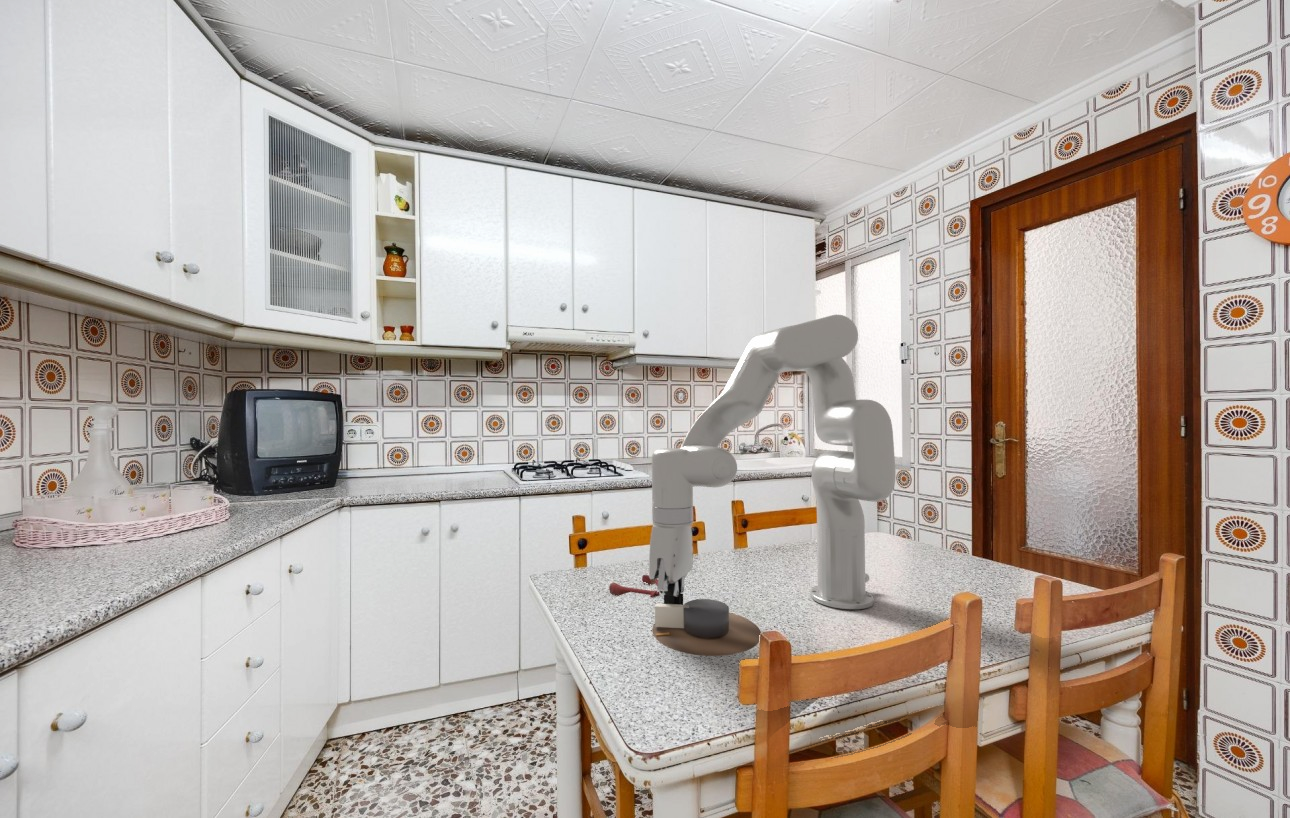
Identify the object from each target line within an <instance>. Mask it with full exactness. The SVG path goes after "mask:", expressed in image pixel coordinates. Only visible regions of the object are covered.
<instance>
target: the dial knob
mask: <svg viewBox="0 0 1290 818" xmlns="http://www.w3.org/2000/svg"><path fill="white" fill-rule="evenodd" d="M729 613H730V607H729V605H728V604H726V603H725V602H722V601H720V600H717V599H709V598H699V599H693V600H689V601H687V602H685V603H683V605H678V604H664V603H655V605H654V624H655V627H668V628H684V630H685V631H686V632H687V633H689V634H691V635H694V636H697V637H704V638H713V637H720V636H723V635H725V634H727V633H728V631H729Z"/></svg>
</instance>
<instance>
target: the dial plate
mask: <svg viewBox="0 0 1290 818" xmlns="http://www.w3.org/2000/svg"><path fill="white" fill-rule="evenodd" d="M651 631H652V635H653V637H654V638H655V639H656V640H657V641H658V642H659V643H660V644H662V645H663V646H664V647H667V648H670V649H672V650H674V651H677V652H681V653H683V654H689V655H694V656H703V657H704V656H705V657H716V656H717V657H720V656H721V657H722V656H729V655H736V654H739V653H742V652H743V653H744V652H746V651H748V650H751V649H752V648H754V647H756V646H757V644H759V643H760V641H759V635H760V633H761V634H762V631H761V629H760V628H759V626H757V624H755V623H754V622H753V621H751V620H750V619H749V618H746V617H744V616H741V615H739V614H735V613H732V612H729V631H728V633H727V634H725V635H723V636H720V637H713V638H704V637H697V636H694V635H691V634H689V633H687V632H686V631H685V630H684V628H668V627H655V623H653V626H652V629H651Z"/></svg>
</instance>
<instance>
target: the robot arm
mask: <svg viewBox="0 0 1290 818" xmlns="http://www.w3.org/2000/svg"><path fill="white" fill-rule="evenodd" d="M858 340H859V332H858V328H857V326H856V324H855V322H854V321H853V320H852V319H851V318H849V317H848V316H846V315H843V314H832V315H828V316H825V317H819V318H817V319H814V320H808V321H805V322H801V323H797V324H793V325H789V326H784V327H779V328H776V329H772V330H769V331H765V332H762V333H759V334H757V335H755V336H754V337H752V338H751V340H750V341H749V342H748V343H747V346H745V349H744V351H743V353H742V355H741V356H740V358H739V360H738V362H737V364H736V366H735V368H734V369H733V371H732V373H731V375H730V377H729V379H728V380H727V382H726V384H725V386H724V388H723V390H722V391H721V393H720V394H719V395H718V396H717V398H715V399H714V400H713V401H712V402H711V403H710V405H708V407H707V408H706V409H705V410H704V411H703V412H702V413H701V414H700V415H699V416H698V418H697V419H696V420H695V421H694V422H693V425H692V426H691V427H690V429H689V430H688V432H687V434H686V436H685V438H684V439H683V441H682V443H681V445H680V446H679V447H678V448H675V447H672V448H671V447H667V448H659V449H656V450H655V451H653V453H652V455H651V484H652V485H651V496H652V502H651V507H652V511H651V515H652V516H651V517H652V518H651V519H652V521H651V522H652V528H651V533H650V539H649V540H650V541H649V557H648V559H649V560H648V576H649V578H650V580H656V579H658V587H657V588H656V589H657V591H658V592H660V591H663V595H664V599H663V604H678V605H684V591H685V581H686V580H685V579H686V577H687V576H688V574H689V573H690V572H691V571H692V570H693V564H694V545H693V531H692V525H694V500H693V499H694V497H693V496H694V494H693V493H694V492H693V490H694V487H704V488H706V487H707V488H721V487H724V486H727V485H728V484H730V483H732V481H733V480H734V478H735V477H736V476H737V475H736V474H737V471H738V464H737V460H736V459H735V457H734V455H733V454H732V453H731V452H729V451H728V450H727V449H724V448H723V447H720V445H721V443H722V442H723V440H724V439H725V438H726V437H727V436H728V435H729V434H730V433H732V432H733V431H734V430H736V429H737V428H739V427H741V426H743V425H745V424H747V423H748V422H750V421H751V420H753V419H754V418H755V417H757V416H759V415H760V413H761V412H762V410H763V409H764V407H765V405H766V403H767V401H768V399H769V397H770V395H771V393H772V391H773V389H774V387H775V385H776V383H777V381H778V380H779V378H780V376H781V374H782V373H786V372H794V371H799V370H803V371H804V372H805V373H806V375H807V376H808V378H809V380H810V384H811V391H812V399H813V401H812V402H813V415H814V427H815V432H816V435H817V437H818V439H819V440H820V441H821V442H823V443H825V444H828V445H833V446H845V447H852V450H853V451H844V450H831V451H825V452H823V453H821V454H820V455H818V457H816V458H815V460H814V462H813V464H812V466H811V482H812V486H813V491H814V496H815V504H816V506H815V507H816V537H817V538H816V541H817V542H816V544H817V545H816V547H817V549H816V551H817V552H816V555H817V562H816V563H817V585H815V586H813V587H812V588H811V589H810V597H811V599H812V600H813V601H815V602H816V603H818V604H821V605H824V606H827V607H830V608H834V609H841V610H852V611H853V610H864V609H869V608H870V607H872V606H873V605H874V603H875V598H874V596H873V594H871V593H870V592H869V591H866V583H868V582H869V581H870V576H869V574H868V573H866V545H865V543H866V541H865V540H866V539H865V538H866V537H865V536H866V535H865V533H866V532H865V528H866V527H865V525H866V524H865V515H864V509H863V508H862V505H861V502H860V500H861V501H864V502H873V503H876V502H882V501H884V500H886V499H887V498H889V497H890V495H891V494H892V493H893V491H894V487H895V484H896V459H895V446H894V445H895V443H894V431H893V424H892V419H891V417H890V414H889V413H888V412H889V411H888V410H887V409H886V408H885V406H884V405H883V404H881V403H879V402H878V401H876V400H872V399H857V396H856V390H855V383H854V382H855V381H854V377H853V373H852V370H851V368H850V366H849V364H848V363H847V362H846V361H845V359H844V357H847V356H848V355H849V354H851V353H852V352H853V350H854V349H855V348H856V346H857V343H858Z"/></svg>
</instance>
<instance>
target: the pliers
mask: <svg viewBox="0 0 1290 818" xmlns="http://www.w3.org/2000/svg"><path fill="white" fill-rule="evenodd" d="M642 581H643V582H646V583H648V584H651V585H650V586H652V585H656V586H657V587H658V578H657V579H656V580H650V578H649V574H644V575H642V577H641V582H642ZM643 582H642V583H643ZM608 589H609V593H611V594H612V595H614V594H615V595H614V596H616V595H617V597H619V596H622V595H626V594H628V593H634V594H640V595H650V598H654V597H657V596H658V597H661V598H662V599H663V600H664V595H663V591H659V590H650V589H649V590H648V589H643V588H642V589H641V588H634V587H627V586H623V585H620V584H619V583H616V582H612V583H610V585H609V587H608Z"/></svg>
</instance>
